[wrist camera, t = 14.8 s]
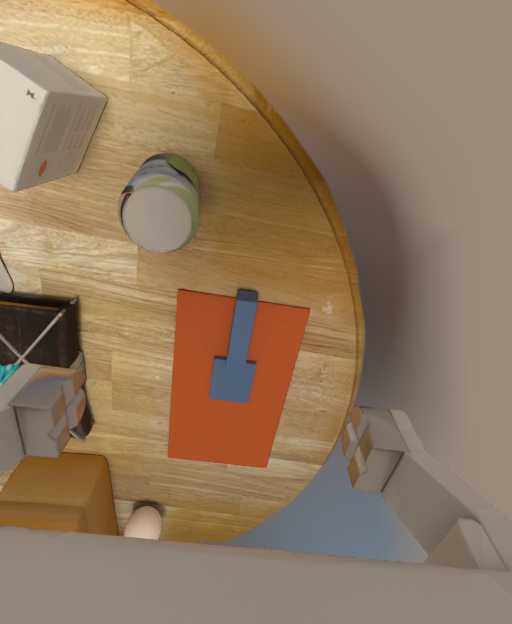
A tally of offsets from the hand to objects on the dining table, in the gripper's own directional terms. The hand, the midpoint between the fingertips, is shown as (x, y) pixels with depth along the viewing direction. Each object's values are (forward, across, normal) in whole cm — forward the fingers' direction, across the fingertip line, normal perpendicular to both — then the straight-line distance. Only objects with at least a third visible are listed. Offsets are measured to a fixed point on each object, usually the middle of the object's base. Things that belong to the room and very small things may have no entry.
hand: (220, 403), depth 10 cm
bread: (+29, +22, +55) cm, 66 cm away
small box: (+29, +18, -5) cm, 35 cm away
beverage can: (+29, +7, 0) cm, 30 cm away
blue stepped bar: (+29, -2, +18) cm, 34 cm away
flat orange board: (+29, -2, +26) cm, 39 cm away
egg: (+29, +9, +56) cm, 64 cm away
